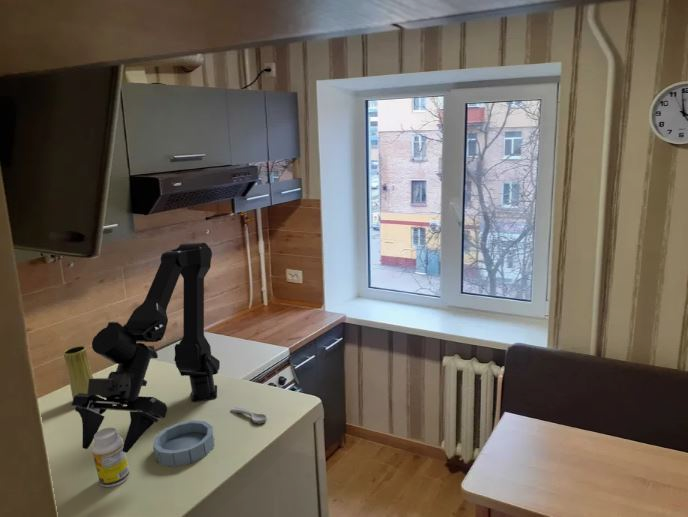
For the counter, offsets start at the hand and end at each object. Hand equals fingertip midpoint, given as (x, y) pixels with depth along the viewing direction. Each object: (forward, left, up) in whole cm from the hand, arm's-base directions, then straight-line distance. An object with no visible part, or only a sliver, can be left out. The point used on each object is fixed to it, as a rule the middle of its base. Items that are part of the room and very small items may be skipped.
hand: (104, 450), depth 100 cm
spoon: (-15, +27, -8) cm, 32 cm away
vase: (-41, -15, -7) cm, 44 cm away
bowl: (-7, +13, -7) cm, 17 cm away
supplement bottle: (-1, 0, -7) cm, 7 cm away
